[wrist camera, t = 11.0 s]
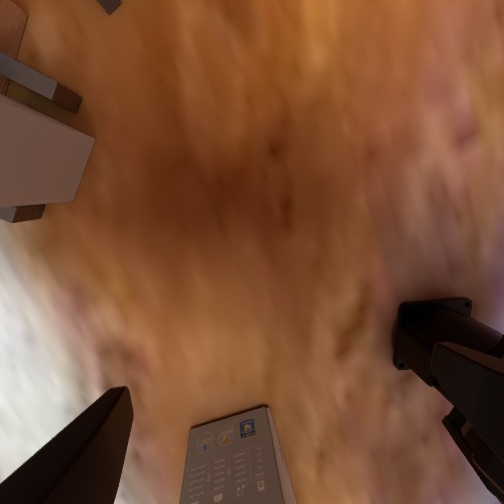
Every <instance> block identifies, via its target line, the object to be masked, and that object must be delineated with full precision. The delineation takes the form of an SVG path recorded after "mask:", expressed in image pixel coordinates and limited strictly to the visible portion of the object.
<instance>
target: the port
mask: <svg viewBox="0 0 504 504" xmlns="http://www.w3.org/2000/svg"><path fill="white" fill-rule="evenodd" d="M27 18H28V15H27V14H26V13H25V12H24V11H23V10H22V9H20V8H19V7H18V6H17V5H16V4H15V3H14V2H13V1H11V0H0V94H3V95H5V93H6V90H7V86H8V83H9V79H11V80H13V81H15V82H17V83H19V84H21V85H23V86H25V87H27V88H29V89H30V90H32V91H34V92H36V93H38V94H40V95H42V96H44V97H46V98H48V99H50V100H52V101H54V102H56V103H58V104H60V105H62V106H64V107H66V108H68V109H70V110H72V111H74V112H76V113H77V111H78V108H79V105H80V102H81V99H82V97H80V96H78V95H77V94H75V93H74V92H72V91H71V90H69V89H68V88H66V87H64V86H63V85H61V84H60V83H58V82H56V81H54V80H53V79H51V78H49V77H47V76H45V75H43V74H41V73H39V72H37V71H35V70H34V69H32V68H30V67H28V66H26V65H24V64H22V63H20V62H18V61H16V60H15V59H16V55H17V52H18V48H19V45H20V42H21V38H22V35H23V31H24V28H25V24H26V21H27ZM44 207H45V205H43V204H36V205H24V206H12V207H1V208H0V219H3V220H5V221H8V222H10V223H16V222H22V221H28V220H35V219H41V216H42V213H43V210H44Z"/></svg>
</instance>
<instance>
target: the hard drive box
mask: <svg viewBox="0 0 504 504" xmlns="http://www.w3.org/2000/svg"><path fill="white" fill-rule="evenodd" d="M179 504H297V502H296V499H295V495H294V492H293V489H292V485H291V482H290V478H289V474H288V471H287V467H286V464H285V461H284V457H283V454H282V450H281V447H280V443H279V439H278V436H277V433H276V429H275V426H274V423H273V419H272V416H271V412H270V409H269V407H268V408H265V407H262V408H259V409H255V410H252V411H249V412H245V413H242V414H239V415H236V416H232V417H229V418H226V419H223V420H219V421H216V422H213V423H209V424H206V425H203V426H199V427H196V428H193V429H191V430H190V434H189V440H188V447H187V454H186V461H185V468H184V475H183V482H182V489H181V495H180V503H179Z"/></svg>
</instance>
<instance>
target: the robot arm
mask: <svg viewBox="0 0 504 504" xmlns="http://www.w3.org/2000/svg"><path fill="white" fill-rule="evenodd" d="M407 307H408V308H407ZM406 308H407V310H406ZM471 309H472V301H471V300H470V299H468V298H465V297H463V298H452V299H440V300H429V301H418V302H406V303H403V304H402V305H401V306H400V309H399V318H398V327H397V335H396V344H395V355H394V366H395V367H396V368H397V369H398V370H407V369H412V370H413V371H414V372H415V373H416V374H417V375H418V376H419V377H420V378H421V379H422V380H423V381H424V382H425V383H426V384H427V385H428V386H430V387H435V388H436V389H437V390H438V391H439V392H440V393H441V394H442V395H443V396H444V397H445V398H446V399H447V400H448V401H449V402H451V403H452V404H453V405H454V407H453V408H452V410H451V411H450V413H449V414H448V416H447V415H446V416H445V417H444V418H443V420H442V423H443V425H444V426H445V427H446V429H447V430H448V432H449V434H450V435H451V437H452V438H453V440H454V441H455V443H456V444H457V446H458V447H459V448H460V450H461V451H462V453H463V454H464V456H465V457H466V459H467V460H468V462H469V463H470V465H471V466H472V467H473V469H474V470H475V472H476V473H477V475H478V476H479V478H480V479H481V481H482V482H483V483H484V485H485V486H486V488H487V489H488V490H489V491H490V492H491V493H492V494H493V495H494V496H496V497H497V499H498V500H499V501H500V503H501V504H504V335H503V334H501V333H500V332H498V331H496V330H494V329H492V328H490V327H488V326H486V325H484V324H482V323H480V322H478V321H477V320H475V319H473V318H471V317H470V314H471ZM400 363H401V364H400ZM399 364H400V365H399ZM133 415H134V413H133V406H132V401H131V397H130V392H129V389H128V387H126V386H121V387H113V388H110V389H109V390H108V391H106V392H105V393H104V394H103V395H102V396H101V397H99V398H98V399H97V400H96V401H95V402H94V403H93V404H91V405H90V406H89V407H88V408H87V409H86V410H85V411H83V412H82V413H81V414H80V415H79V416H78V417H76V418H75V419H74V420H73V421H72V422H71V423H70V424H68V425H67V426H66V427H65V428H64V429H63V430H61V431H60V432H59V433H58V434H57V435H56V436H55V437H53V438H52V439H51V440H50V441H49V442H48V443H46V444H45V445H44V446H43V447H42V448H41V449H40V450H38V451H37V452H36V453H35V454H34V455H33V456H32V457H30V458H29V459H28V460H27V461H26V462H25V463H23V464H22V465H21V466H20V467H19V468H18V469H17V470H15V471H14V472H13V473H12V474H11V475H10V476H8V477H7V478H6V479H5V480H4V481H3V482H2V483H0V504H114V501H115V497H116V494H117V490H118V487H119V482H120V478H121V474H122V469H123V464H124V460H125V455H126V451H127V446H128V441H129V437H130V432H131V427H132V423H133Z"/></svg>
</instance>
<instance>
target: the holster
mask: <svg viewBox="0 0 504 504" xmlns="http://www.w3.org/2000/svg"><path fill="white" fill-rule="evenodd" d="M97 1H98V2H99V3H100V4H101V6H102V7H103V8H104V9H105V10H106V12H107V13H108V14H109V15H110V14H111V13H112V12H113V11H114V10H115V9H116V8H117V7H118V6H119V5H120V4H121V2H120V0H97Z"/></svg>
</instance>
